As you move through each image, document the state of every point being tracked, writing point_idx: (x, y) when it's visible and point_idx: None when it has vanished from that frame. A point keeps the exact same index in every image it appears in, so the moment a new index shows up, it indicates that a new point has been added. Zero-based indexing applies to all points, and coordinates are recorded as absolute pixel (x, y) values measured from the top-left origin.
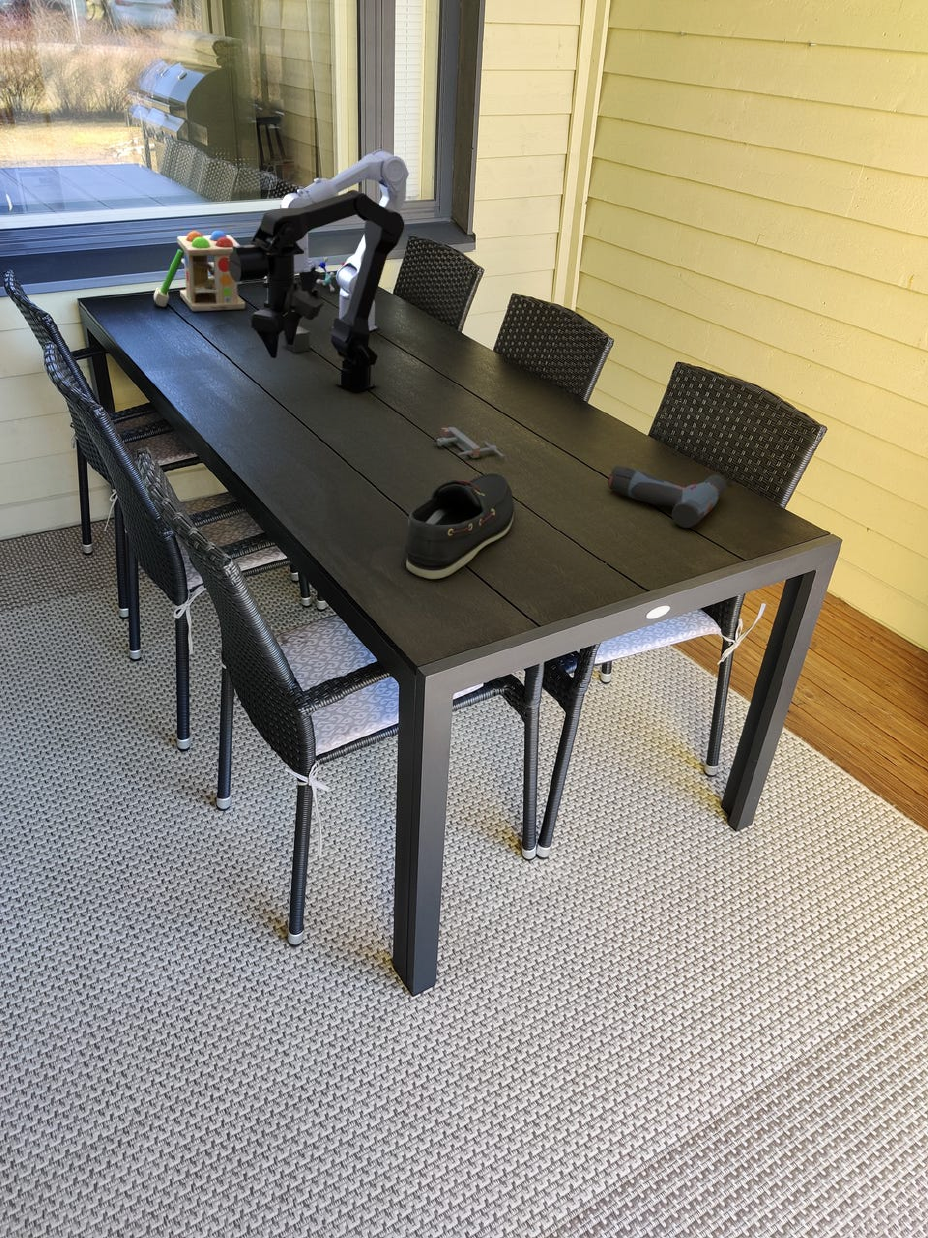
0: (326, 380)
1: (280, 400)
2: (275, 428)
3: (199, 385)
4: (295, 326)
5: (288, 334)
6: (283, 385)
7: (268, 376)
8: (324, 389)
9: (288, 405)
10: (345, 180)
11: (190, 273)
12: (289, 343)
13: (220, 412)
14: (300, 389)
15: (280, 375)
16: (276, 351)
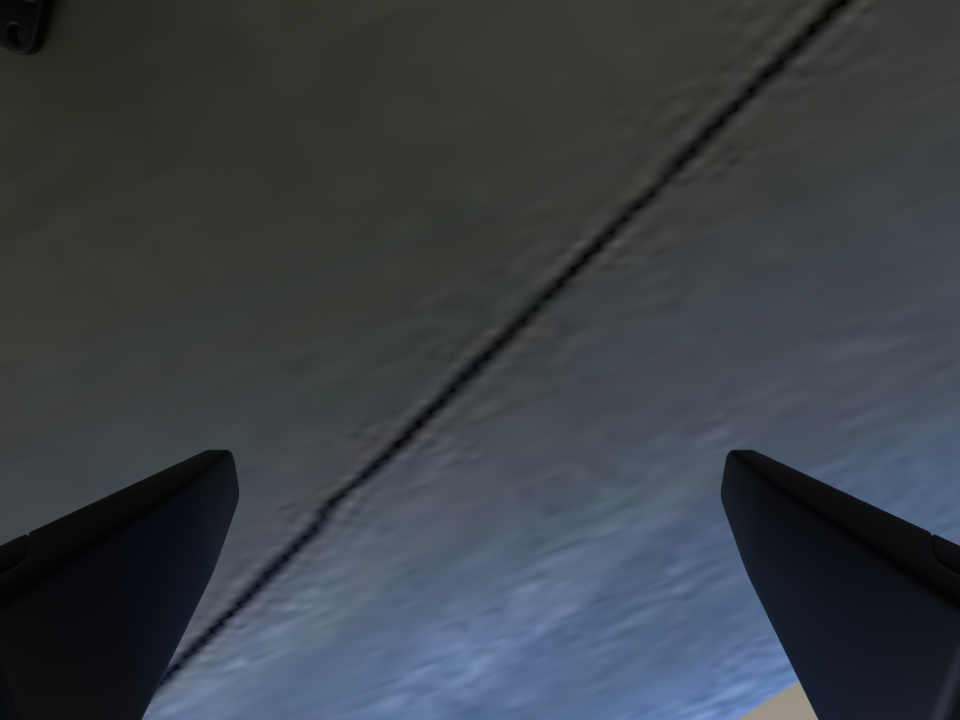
0: (9, 168)
1: (497, 312)
2: (948, 164)
3: (488, 714)
4: (62, 576)
5: (183, 570)
6: (265, 386)
7: None
8: (169, 115)
9: (554, 236)
10: None
11: None
12: (232, 486)
13: None
14: (265, 269)
15: (133, 458)
16: (801, 480)
